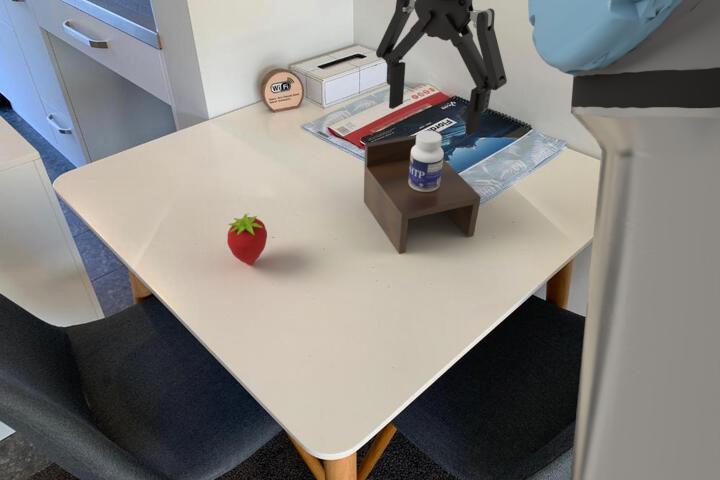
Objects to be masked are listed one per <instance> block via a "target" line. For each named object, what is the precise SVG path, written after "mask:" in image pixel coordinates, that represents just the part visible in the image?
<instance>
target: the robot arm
mask: <svg viewBox="0 0 720 480" xmlns="http://www.w3.org/2000/svg"><path fill="white" fill-rule="evenodd" d="M527 3H528V4H527V5H528V6H527V9H528V21H529V23H530V24H531V26H532V27H533V29H532V33H531V40H532V43H533V46H534V49H535V50H536V52H537V54H538V56H539V57H540V59H541V60H542V61H543V62H545V64H547V65H548V66H550V67H552V68H555V69H558V71H559V72H562V73H563V74H567V75H569V76H570V75H571V76H572V77H573V80H572V91H571V104H570V114H571V115H572V116H573V117H574V118H575V120H577V122H579V123H580V125H581V126H582V127H583V128H584V129H585V130H586V131H587V132H588V133H589V134H590V135H591V136H592V138H593V139H594V140H595V141H596V142H597V144H598V147H599V148H600V150H601V151H600V162H599V171H598V182H597V194H596V205H595V214H594V226H593V235H592V236H593V237H592V247H591V255H590V256H591V257H590V267H589V278H588V287H587V288H588V289H587V300H586V309H585V310H586V311H585V321H584V331H583V340H582V352H581V361H580V362H581V363H580V371H579V382H578V383H579V384H578V393H577V394H578V395H577V405H576V413H575V414H576V415H575V424H574V425H575V426H574V436H573V445H572V446H573V448H572V455H571V456H572V457H571V466H570V467H571V468H570V478H569V480H720V0H528V2H527ZM473 5H474V4H473V0H396V2H395V9H394V13H393V15H392V17H391V19H390V21H389V24H388V25H387V28H386V30H385V32H384V34H383V36H382V38H381V41H380V42H379V45H378V47H377V48H376V51H375V55H376V58H379V59H383V60H384V61H385V64H386V84H387V85H389V102H388V108H389V109H391V110H394V109H395V108H397V107H399V106H401V105H403V104H404V92H405V76H406V62H404V61H402V60H403V59H404V57H405V56H406V55H407V53H409V51H410V50H411V49H412V48H413V47H415V45H416V44H417V43H418V42H419V41H420V40H421V38H422V37H423V36H424V35H425V34H426V35H427V37H429V38H438V39H440V40H442V41H445V42H447V41H449V40H450V42H451V44H452V46H453V47H454V48H455V49H457V51H458V54H459V55H460V57H461V59H462V61H463V63H464V65H465V67H466V69H467V70H468V73H469V74H470V77H471V78H472V80H473V82H474V84H475V87H473V88H472V89H471V91H470V97H469V104H468V111H467V118H466V124H465V131H464V134H465V135H468V136H470V135H472V134H474V133H475V132H476V131H478V130H479V129H480V124H481V118H482V113H484V112H487V110H488V108H489V105H490V100H491V95H492V94H491V93H492V91H497V90H498V89H500V88H502V87H503V86H505V85H506V84H507V83H508V78H507V75H506V71H505V68H504V62H503V59H502V55H501V51H500V46H499V43H498V42H499V41H498V39H497V34H496V31H495V16H496V14H495V9H493V8H487V9H485V10H483V9H481V10H480V9H474V6H473ZM414 11H415V13H416V16H417V18H418V20H417V21H415V22H414V24H413V25H412V26H411V27H410V30H409V31H408V32H407V34H405V36H404V37H403V38H402V39H401V40H400V41H399V38H400V36H401V34H402V32H403V30H404V28H405V26H406V25H407V22H408V21H409V18H410V16H411V14H412V13H413V12H414ZM471 21H472V22H473V24H472V26H473V28H475V29H476V37H477V42H478V46H479V49H480V50H479V49H478V47H477V45H476V42H475V40H474V34H473V32H472V30H471V28H470V26H469V23H470V22H471ZM398 41H399V42H398ZM397 42H398V44H397ZM396 44H397V45H396Z"/></svg>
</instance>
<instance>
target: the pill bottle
mask: <svg viewBox="0 0 720 480" xmlns="http://www.w3.org/2000/svg"><path fill="white" fill-rule="evenodd" d="M439 133H440V132H439ZM439 133H437V132H435V130H421V131H419V132H418V133H417V134H415V135H416V145H414V146H413V147H412V149H411V155H410V167H409V180H408V183H409V185H410V187H411V188H413V189H414V190H417V191H420V192H431V191H434V190H436V189H437V188H438V187H439V186H440V180H441V172H442V164H443V159H444V155H445V153H444V150H443V148H442V140H443V139H442V138H443V137H442V135H440V134H441V133H440V134H439Z"/></svg>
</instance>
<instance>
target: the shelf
mask: <svg viewBox="0 0 720 480" xmlns="http://www.w3.org/2000/svg"><path fill="white" fill-rule="evenodd" d="M434 132H437V133H439V134H440V135H441V132H439V131H438V130H436V131H435V130H434ZM416 135H417V134H412V135H408V136H401V137H396V138H395V137H394V138H389V139H385V140H380V141H379V140H378V141H374V142H367V143H364V165H363V167H364V168H363V169H364V170H363V171H364V172H363V177H364V178H363V202H364V204H365V205H366V207H367V208H368V210H369V211H370V214H372V216H373V218H374V219H375V220H376V222H377V224H378V225H379V227H380V228H381V229H382V231H383V232H384V234H385V235H386V237H387V239H388V240H389V241H390V243H391V244H392V246H393V247H394V249H395V250H396V252H397V253H398V254H403V253H406V252H407V241H408V240H407V239H408V226H409V220H410V219H414V218H419V217H422V216H428V215H432V214H437V213H441V212H445V213H446V214H447V215H448V216H449V217H450V219H452V221H453V222H454V223H455V224H456V225H457V227H458V228H459V229H460V230H461V231H462V232H463V233H464V235H465V236H466V237H467V238H470V237H473V236H475V232H476V226H477V220H478V215H479V209H480V204H481V199H482V197H481V195H480V194H479V193H478V192H477V191H476V190H475V189H474V188H473V187H472V186H471V185H470V184H469V183H468V182H467V181H466V180H465V179H464V178H463V177H462V176H461V175H460V174H459V172H457V171H456V170H455V169H454V168H453V167H452V166H451V165H450V163H448V162H447V161H446V160H445V159H444V158H443V164H442V172H441V180H440V186H439V187H438V188H437V189H436V190H434V191H431V192H420V191H417V190H414V189H413V188H411V187H410V185H409V183H408V180H409V167H410V155H411V149H412V147H413V146H414V145H416ZM441 136H442V135H441Z"/></svg>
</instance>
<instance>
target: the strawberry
mask: <svg viewBox="0 0 720 480" xmlns="http://www.w3.org/2000/svg"><path fill="white" fill-rule="evenodd" d="M248 215H249V212H248V213H244V215H243V217H242V218H236V217H234V218H233V220H234V221H235V222H233V223H232V222H231V223H228V224H227V225H228V226H231V227H230V228H229V229H228V231H227V239H226V240H227V246H228V248H229V250H230V252H231V254H232V255H233V256H234V257H235V258H236V259H238V260H239V261H240V262H242V263H244V264H246V265H248V266H252V265H253V264H254V263H255V261H257V260H258V258H259V257H260V256H261V254H262V253H263V251H264V250H265V248H266V242H267V239H268V232H267V228H266V226H265V225H266V224H264V222H263V221H262V220H260V219H259V218H257V217H258V215H255V216H248Z"/></svg>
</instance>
